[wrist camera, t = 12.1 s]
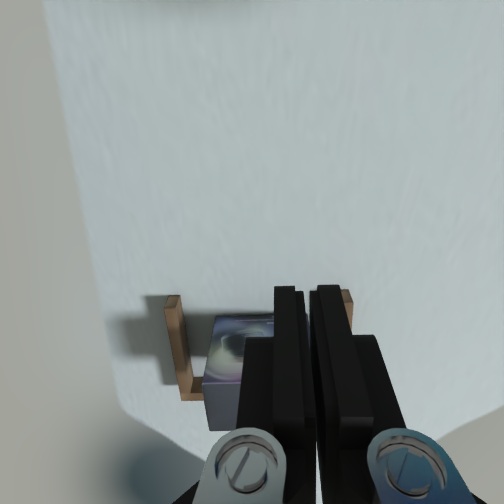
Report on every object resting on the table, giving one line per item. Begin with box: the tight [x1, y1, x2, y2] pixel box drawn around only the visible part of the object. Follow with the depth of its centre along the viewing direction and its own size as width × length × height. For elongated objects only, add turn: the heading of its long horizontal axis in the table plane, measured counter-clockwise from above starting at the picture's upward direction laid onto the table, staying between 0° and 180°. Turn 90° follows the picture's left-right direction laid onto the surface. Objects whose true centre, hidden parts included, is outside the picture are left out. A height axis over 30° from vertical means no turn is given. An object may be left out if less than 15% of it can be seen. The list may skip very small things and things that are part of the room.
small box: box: [202, 314, 310, 431], centre depth 39 cm, size 11×6×10 cm, turn 94°
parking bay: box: [164, 290, 353, 401], centre depth 43 cm, size 19×13×2 cm
